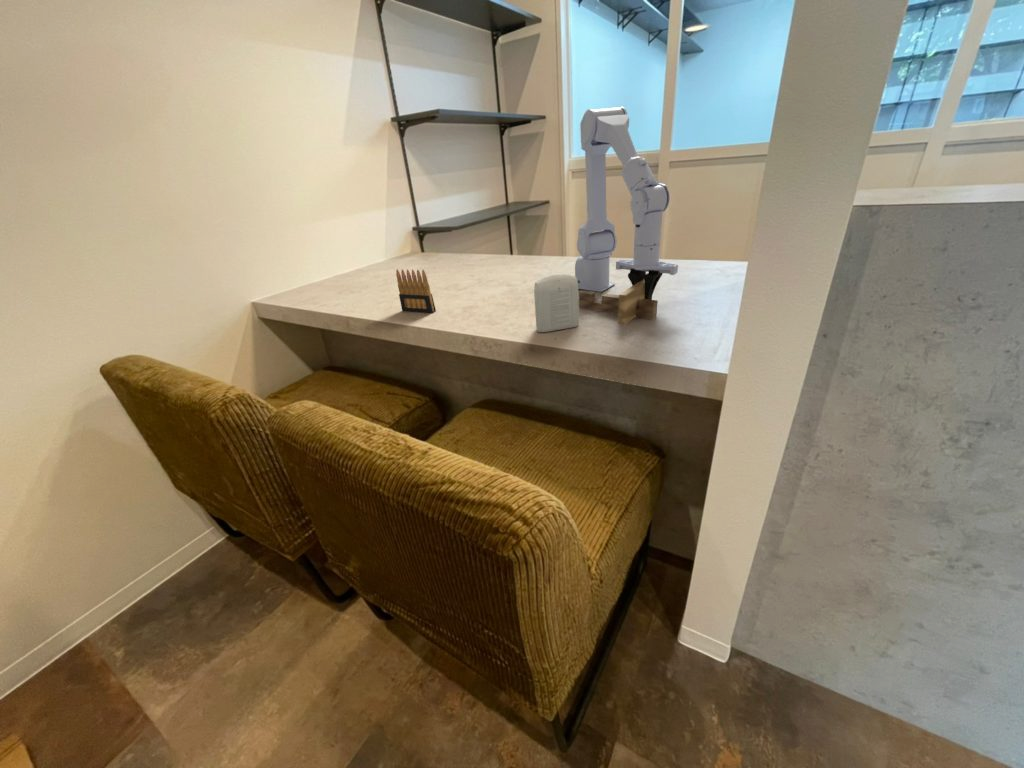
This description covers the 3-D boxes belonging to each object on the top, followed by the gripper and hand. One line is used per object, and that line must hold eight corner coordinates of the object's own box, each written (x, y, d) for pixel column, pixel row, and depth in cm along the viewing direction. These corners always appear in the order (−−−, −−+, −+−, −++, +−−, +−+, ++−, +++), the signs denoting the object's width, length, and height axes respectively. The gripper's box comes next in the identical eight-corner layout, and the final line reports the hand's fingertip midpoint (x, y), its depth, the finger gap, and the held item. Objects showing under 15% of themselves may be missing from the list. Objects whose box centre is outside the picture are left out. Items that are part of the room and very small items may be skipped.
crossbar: (618, 323, 96) (619, 294, 93) (645, 303, 105) (646, 276, 101) (624, 324, 95) (625, 295, 92) (651, 304, 104) (653, 277, 100)
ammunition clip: (436, 311, 117) (427, 268, 111) (432, 313, 116) (423, 270, 110) (405, 309, 121) (396, 268, 116) (402, 311, 120) (392, 270, 114)
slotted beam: (579, 307, 108) (579, 292, 106) (583, 305, 109) (583, 290, 107) (652, 319, 96) (653, 303, 94) (656, 317, 97) (657, 300, 95)
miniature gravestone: (575, 321, 100) (573, 269, 94) (581, 327, 96) (580, 274, 90) (534, 328, 99) (530, 277, 93) (539, 334, 95) (535, 281, 89)
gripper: (609, 245, 97) (608, 301, 103) (671, 249, 88) (665, 310, 94) (624, 239, 101) (622, 293, 108) (683, 242, 92) (677, 300, 99)
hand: (643, 300), depth 101 cm, fingers closed on crossbar, 2 cm apart
